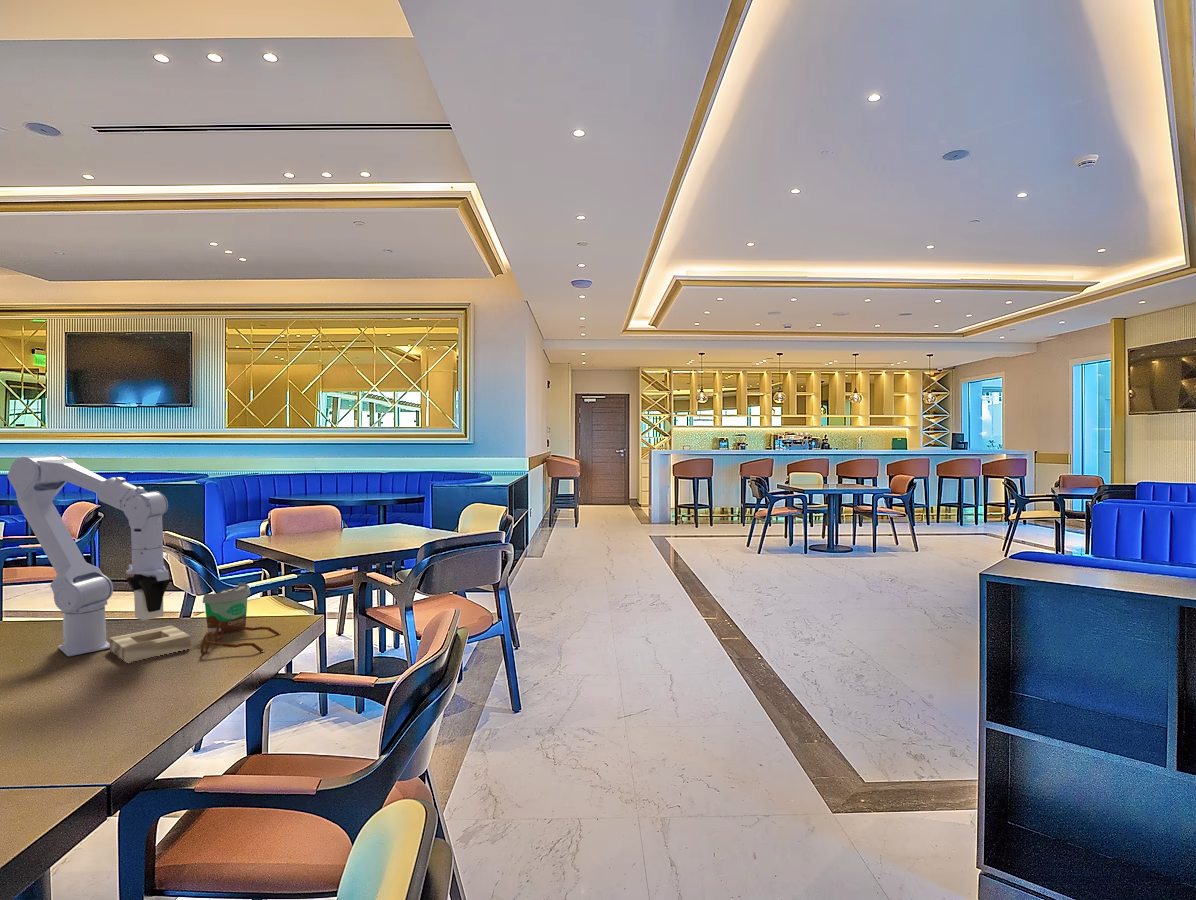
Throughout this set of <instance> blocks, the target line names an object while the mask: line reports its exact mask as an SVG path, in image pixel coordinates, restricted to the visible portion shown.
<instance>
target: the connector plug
mask: <svg viewBox="0 0 1196 900" xmlns="http://www.w3.org/2000/svg"><path fill="white" fill-rule="evenodd" d="M133 596H134V599H133V600H134V618H135V619H138V620H141V621H147V620H153V619H156V618H160V617H161V618H162V617H164V616H165V615H164V599H163V600H162V604H161V608H160V610H158V611H153V612H148V609H147V605H146V599H145V595H144V592H143V589H139V590H134V592H133Z"/></svg>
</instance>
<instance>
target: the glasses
mask: <svg viewBox="0 0 1196 900" xmlns="http://www.w3.org/2000/svg"><path fill="white" fill-rule="evenodd" d="M221 625H222V630H221V634H220V635H218V631H219V628H220V626H221ZM224 627H226V628H234V629H242V630H244V631H259V630H260V631H261V630H262V631H263V630H265V631H268V632H271V633H272V634H273V635H275V634H279V633H280V632H278V631H276V630H275V629H273V628H271V627H269V626H257V627H249V626H246V627H243V626H235V625H227V624H225V622H224V621H221V622H220V623H219V625H218V627H217V629H216V630H214V631H213V632H212V633H211V632H208V631H207V632H206V633H205V634H204V636H203V639H202V642H201V646H200V654H201V655H203V654H204V653H205V654H206V653H208V651H209V649H210V646H216V647H217V646H218V647H226V648H235V649H236V648H239V647H250V646H251V647H253V648H254V649H255V650H257V651H258V652H259V651H263V650H264V649H263V648H262V647H260V646H259V645H257V644H256V643H255V642H242V643H237V644H235V643H228V642H227V643H226V642H220V641H221V639H222V637H223V635H224V634H223V632H224ZM215 633H216V634H215ZM214 634H215V635H214ZM213 636H214V641H212V638H213ZM207 638H208V640H207ZM219 640H220V641H219ZM218 641H219V642H218ZM205 645H206V647H205ZM205 654H204V655H205Z"/></svg>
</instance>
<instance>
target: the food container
mask: <svg viewBox="0 0 1196 900" xmlns="http://www.w3.org/2000/svg"><path fill="white" fill-rule="evenodd" d="M251 593H252V592H251V590H250V587H249V585H248V584H247V583H244V582H238V586H236V587H234V588H229V589H228V588H227V589H222V590H220V591H218V592H217V593H203V597H202V604H204V607H205V608H204V610H205V617H206V626H207V627H206V628H207V632H211V633H212V632H213V631H214V630H216V629H217V627H218V625H219V623H220V622H221V621H224V622H225V624H227V625H235V626H243V627H245V626H246V624H247V612H248V610H247V609H248V597H249V596H251ZM246 627H247V626H246ZM221 630H222V625H221V626H220V628H219V631H218V636H220V634H221ZM242 630H243V629H234V628H226V627H224V632H223V635H228V634H232V633H236V632H239V631H242ZM227 633H228V634H227ZM215 634H216V633H215ZM215 634H214V635H213V636H215Z"/></svg>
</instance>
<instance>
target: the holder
mask: <svg viewBox="0 0 1196 900" xmlns="http://www.w3.org/2000/svg"><path fill="white" fill-rule="evenodd" d="M191 642H192V641H191V635H190V634H188V633H187V632H184V631H183V630H181V629H179V628H178V627H175V626H174V625H167V626H163V627H157V628H151V629H147V630H143V631H137V632H132V633H127V634H123V635H122V634H121V635H116V636H111V637H109V643H110V648H109V652H110V651H111V652H110V653H112V652H113V653H114V654H115V655H117V656H118V657H119V658H121V659H122V660H123V661H124V663H125V662H126V663H128V662H132V663H134V662H133V661H136V660H141V659H145V658H150V657H154V656H159V657H161V656H160V655H163V656H165V655H164V654H167V655H170V654H169V653H172V654H174V653H173V652H176V653H179V652H178V651H181V652H184V651H183V650H185V651H188V650H187V649H189V650H191V649H192V647H191V646H192V643H191ZM113 653H112V654H113ZM114 654H113V655H114ZM115 655H114V656H115ZM117 656H116V657H117ZM118 657H117V658H118ZM119 658H118V659H119ZM154 658H155V657H154ZM121 659H120V660H121ZM150 659H151V658H150ZM122 660H121V661H122ZM123 661H122V662H123ZM141 661H142V660H141ZM126 663H125V664H126ZM128 664H129V663H128Z"/></svg>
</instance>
